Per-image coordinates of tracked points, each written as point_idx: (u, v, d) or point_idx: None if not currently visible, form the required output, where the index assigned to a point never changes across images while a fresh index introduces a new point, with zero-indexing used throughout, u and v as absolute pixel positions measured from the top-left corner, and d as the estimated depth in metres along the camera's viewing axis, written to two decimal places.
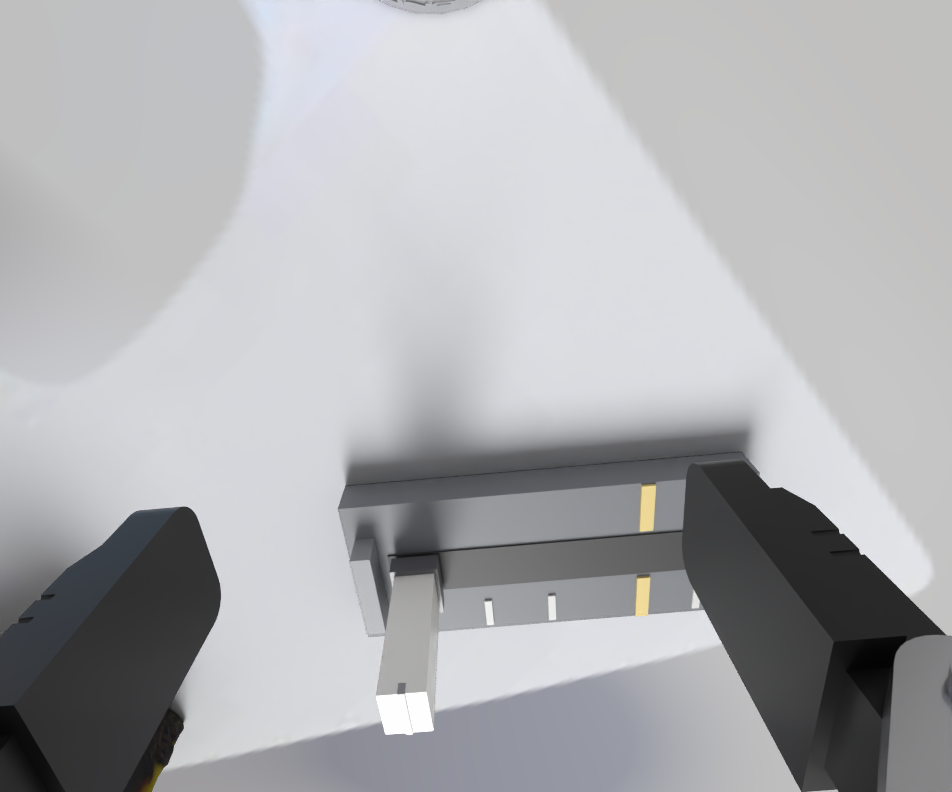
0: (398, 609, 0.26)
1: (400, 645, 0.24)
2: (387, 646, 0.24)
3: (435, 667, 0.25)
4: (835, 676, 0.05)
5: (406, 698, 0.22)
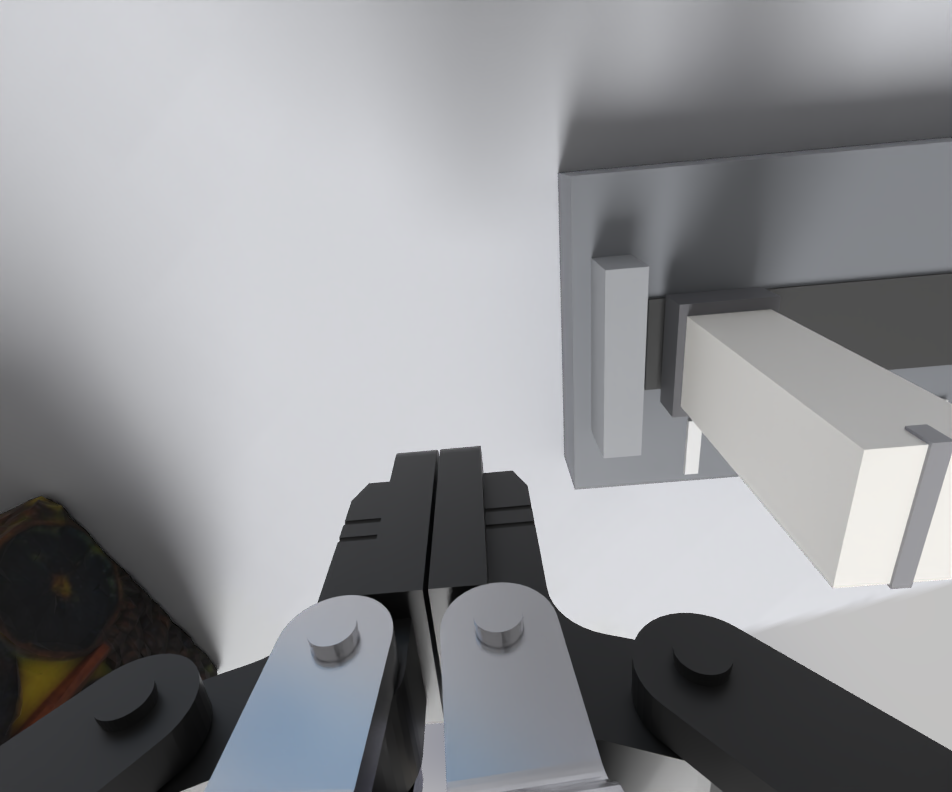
0: (747, 343, 0.11)
1: (819, 379, 0.10)
2: (786, 382, 0.10)
3: None
4: (441, 619, 0.07)
5: (943, 462, 0.08)
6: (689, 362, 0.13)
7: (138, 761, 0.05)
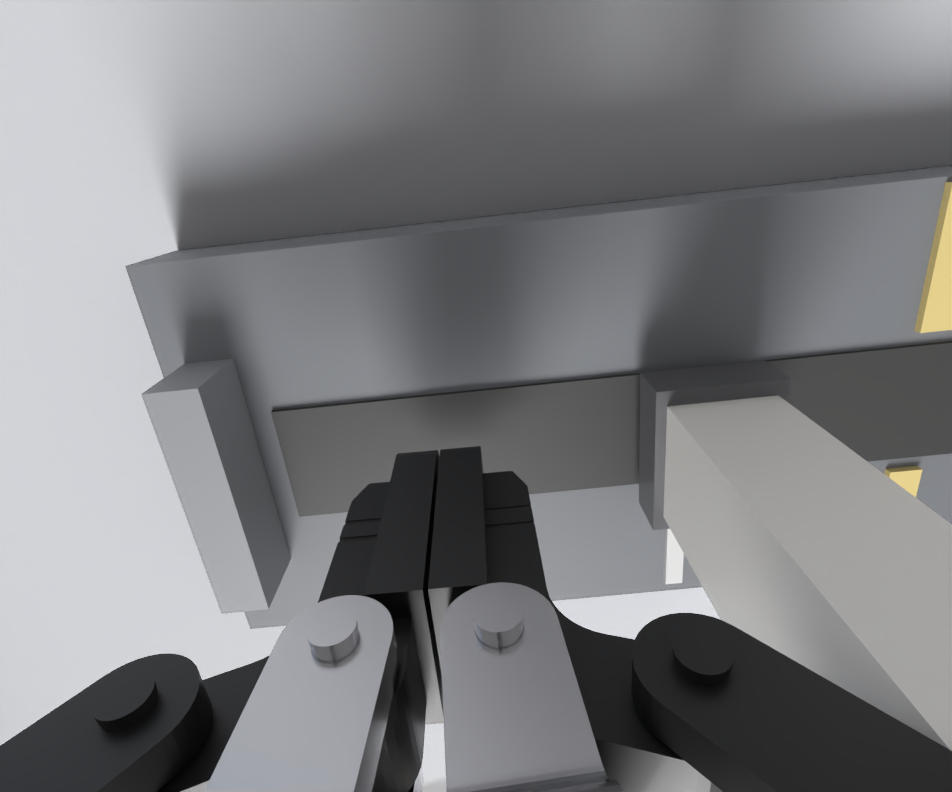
0: (747, 463, 0.08)
1: (859, 552, 0.06)
2: (808, 556, 0.06)
3: None
4: (441, 619, 0.07)
5: None
6: (671, 466, 0.10)
7: (138, 760, 0.05)
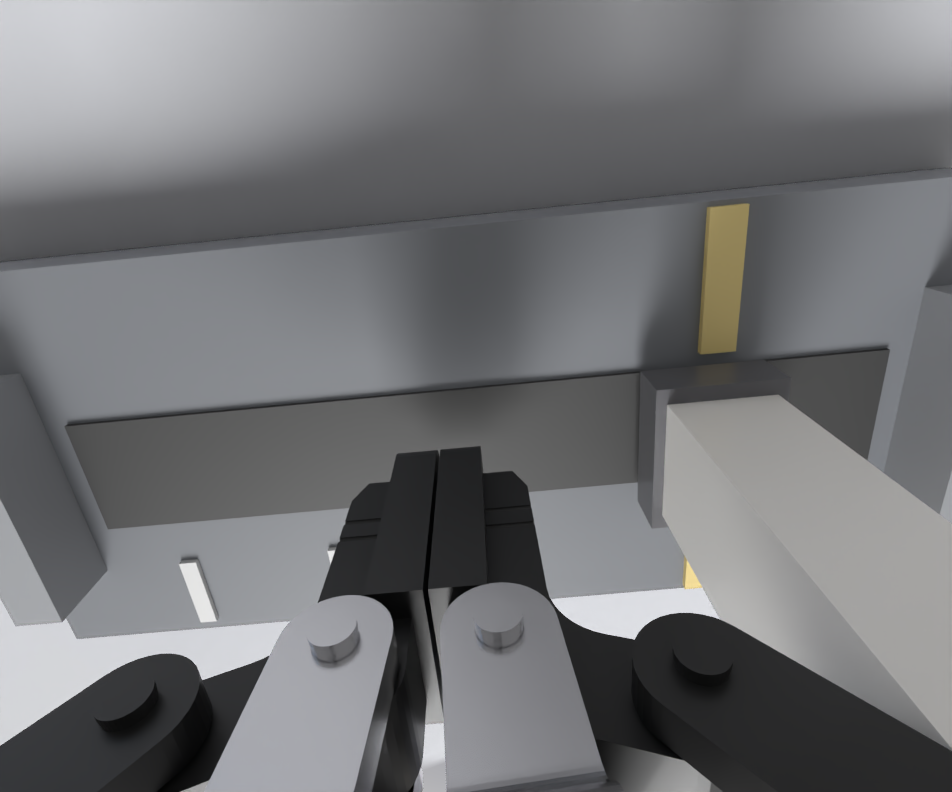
0: (747, 461, 0.08)
1: (857, 550, 0.06)
2: (808, 554, 0.06)
3: None
4: (441, 619, 0.07)
5: None
6: (671, 465, 0.10)
7: (138, 761, 0.05)
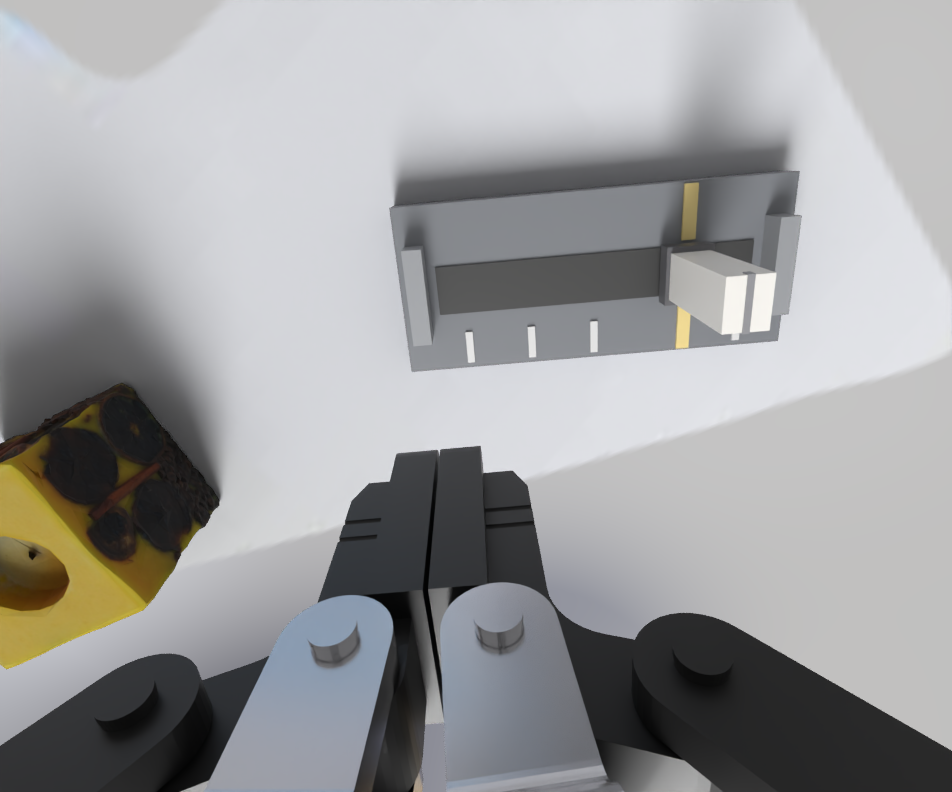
0: (696, 259, 0.26)
1: (720, 265, 0.24)
2: (707, 266, 0.24)
3: None
4: (441, 619, 0.07)
5: (753, 281, 0.22)
6: (672, 275, 0.28)
7: (138, 761, 0.05)
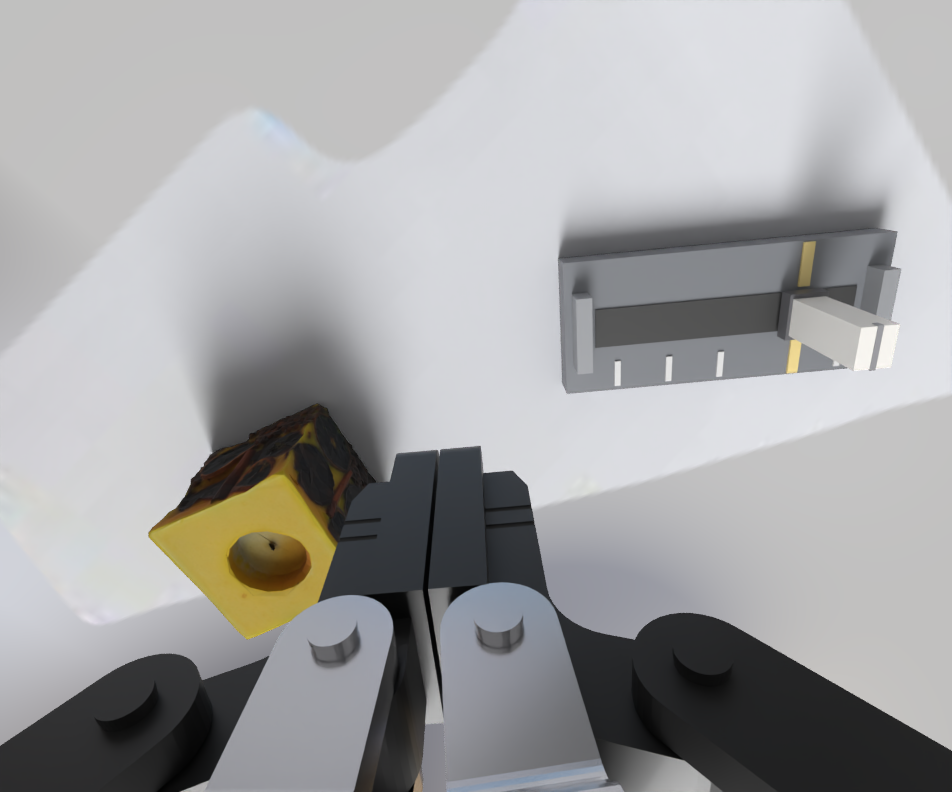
0: (820, 306, 0.33)
1: (847, 315, 0.31)
2: (837, 315, 0.31)
3: None
4: (441, 619, 0.07)
5: (882, 331, 0.29)
6: (794, 316, 0.35)
7: (138, 761, 0.05)
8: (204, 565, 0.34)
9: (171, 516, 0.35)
